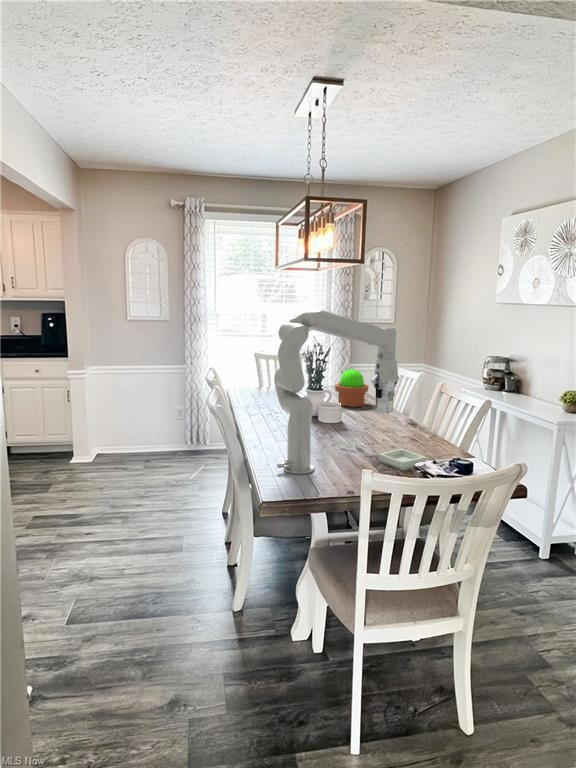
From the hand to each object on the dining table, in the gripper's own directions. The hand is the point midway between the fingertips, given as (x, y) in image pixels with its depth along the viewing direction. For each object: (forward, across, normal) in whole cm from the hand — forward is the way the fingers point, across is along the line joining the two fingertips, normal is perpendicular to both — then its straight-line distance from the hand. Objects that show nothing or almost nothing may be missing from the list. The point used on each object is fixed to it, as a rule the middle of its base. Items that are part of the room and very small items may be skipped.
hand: (384, 396), depth 208 cm
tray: (+28, +1, -10) cm, 30 cm away
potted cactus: (+28, +63, +92) cm, 115 cm away
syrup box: (+7, 0, 0) cm, 7 cm away
